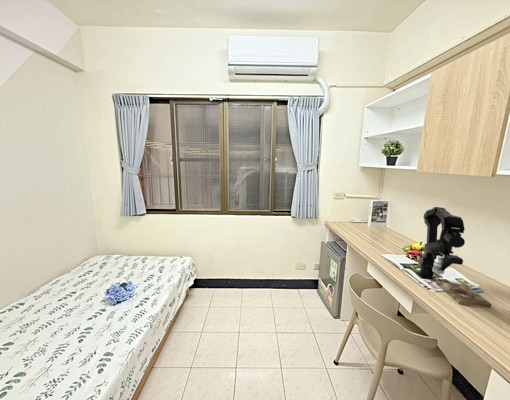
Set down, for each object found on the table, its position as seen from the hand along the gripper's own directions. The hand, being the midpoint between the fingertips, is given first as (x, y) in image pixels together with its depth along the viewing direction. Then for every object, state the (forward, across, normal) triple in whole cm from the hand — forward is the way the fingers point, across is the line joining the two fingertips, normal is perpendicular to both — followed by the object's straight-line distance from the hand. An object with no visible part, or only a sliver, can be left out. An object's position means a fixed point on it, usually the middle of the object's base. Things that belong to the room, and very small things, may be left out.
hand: (438, 267), depth 115 cm
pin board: (+12, +3, +12) cm, 17 cm away
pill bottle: (+3, 0, 0) cm, 3 cm away
